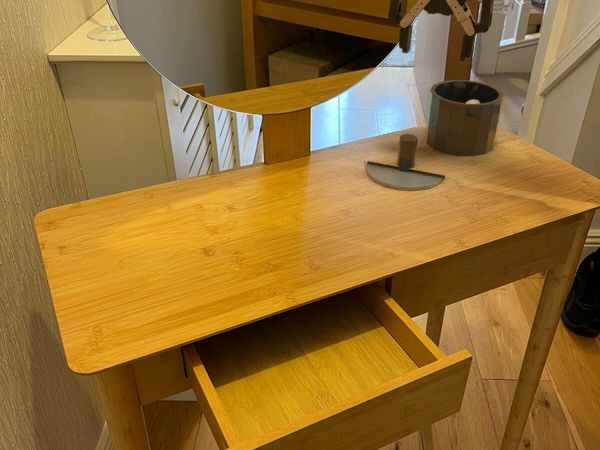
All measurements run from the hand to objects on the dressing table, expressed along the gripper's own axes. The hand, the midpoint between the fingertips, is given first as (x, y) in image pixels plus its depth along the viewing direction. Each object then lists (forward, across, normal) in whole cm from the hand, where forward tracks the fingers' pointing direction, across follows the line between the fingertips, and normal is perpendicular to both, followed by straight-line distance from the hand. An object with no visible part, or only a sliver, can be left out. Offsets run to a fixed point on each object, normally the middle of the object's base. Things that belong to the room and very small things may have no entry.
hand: (434, 55), depth 92 cm
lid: (+18, -2, -4) cm, 18 cm away
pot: (+18, +4, +8) cm, 20 cm away
